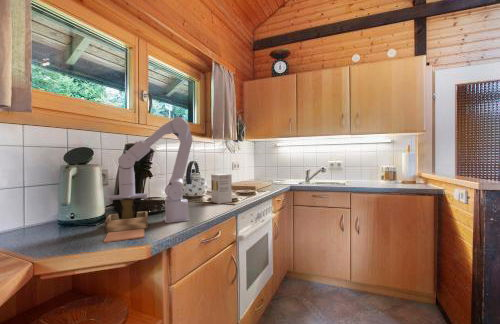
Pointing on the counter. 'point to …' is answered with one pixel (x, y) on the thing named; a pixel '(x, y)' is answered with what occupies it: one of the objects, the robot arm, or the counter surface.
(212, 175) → the supplement box
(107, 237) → the terracotta tile
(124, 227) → the birch box
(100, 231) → the counter surface
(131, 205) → the cork
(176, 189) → the robot arm
